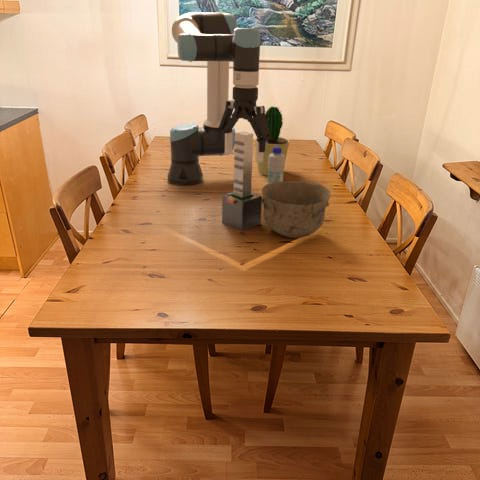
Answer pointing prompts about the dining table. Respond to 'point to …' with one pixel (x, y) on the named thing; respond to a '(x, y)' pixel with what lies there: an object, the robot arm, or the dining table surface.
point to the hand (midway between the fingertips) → (243, 157)
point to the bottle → (276, 166)
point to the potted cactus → (273, 138)
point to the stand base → (241, 211)
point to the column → (243, 165)
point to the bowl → (295, 207)
